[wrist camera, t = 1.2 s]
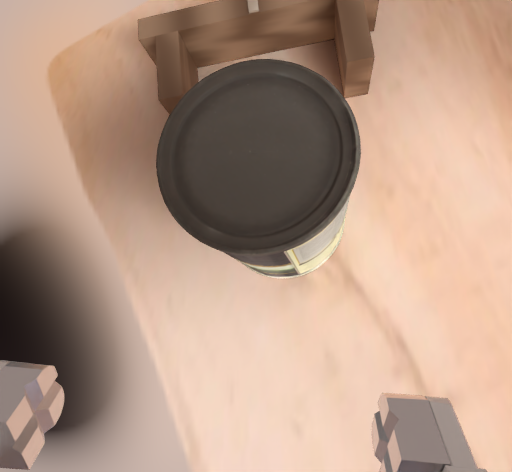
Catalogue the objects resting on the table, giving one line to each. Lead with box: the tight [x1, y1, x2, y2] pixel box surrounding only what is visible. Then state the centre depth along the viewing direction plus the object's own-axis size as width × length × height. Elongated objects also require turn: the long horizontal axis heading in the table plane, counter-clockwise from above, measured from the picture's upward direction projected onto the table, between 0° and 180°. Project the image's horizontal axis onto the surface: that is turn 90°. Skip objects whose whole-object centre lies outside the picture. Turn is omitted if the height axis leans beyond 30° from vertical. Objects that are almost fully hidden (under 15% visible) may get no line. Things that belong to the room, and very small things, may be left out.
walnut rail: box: [138, 0, 379, 114], centre depth 33 cm, size 20×8×5 cm, turn 96°
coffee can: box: [156, 59, 361, 279], centre depth 26 cm, size 10×10×14 cm
